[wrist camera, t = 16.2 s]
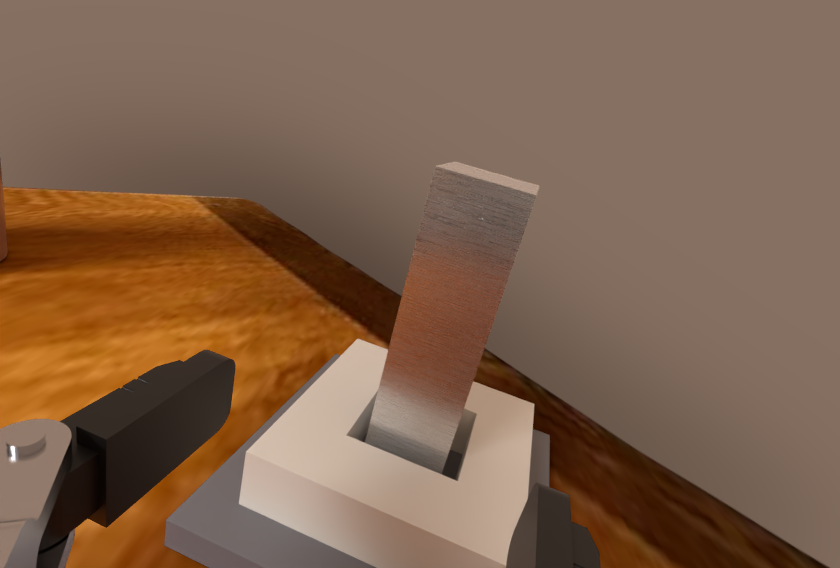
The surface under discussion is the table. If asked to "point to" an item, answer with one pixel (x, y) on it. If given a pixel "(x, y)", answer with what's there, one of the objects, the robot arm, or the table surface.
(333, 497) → the socket block
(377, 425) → the steel peg
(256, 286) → the table surface
